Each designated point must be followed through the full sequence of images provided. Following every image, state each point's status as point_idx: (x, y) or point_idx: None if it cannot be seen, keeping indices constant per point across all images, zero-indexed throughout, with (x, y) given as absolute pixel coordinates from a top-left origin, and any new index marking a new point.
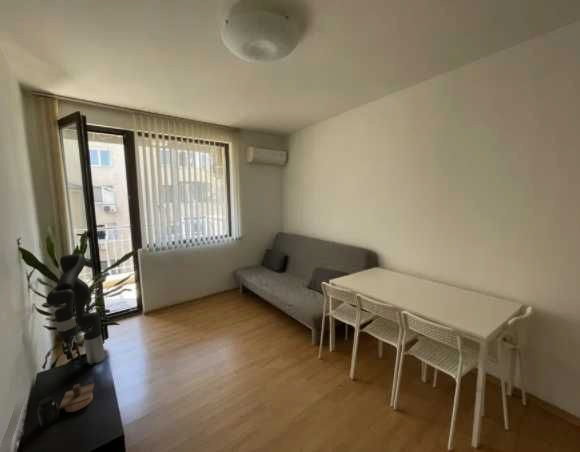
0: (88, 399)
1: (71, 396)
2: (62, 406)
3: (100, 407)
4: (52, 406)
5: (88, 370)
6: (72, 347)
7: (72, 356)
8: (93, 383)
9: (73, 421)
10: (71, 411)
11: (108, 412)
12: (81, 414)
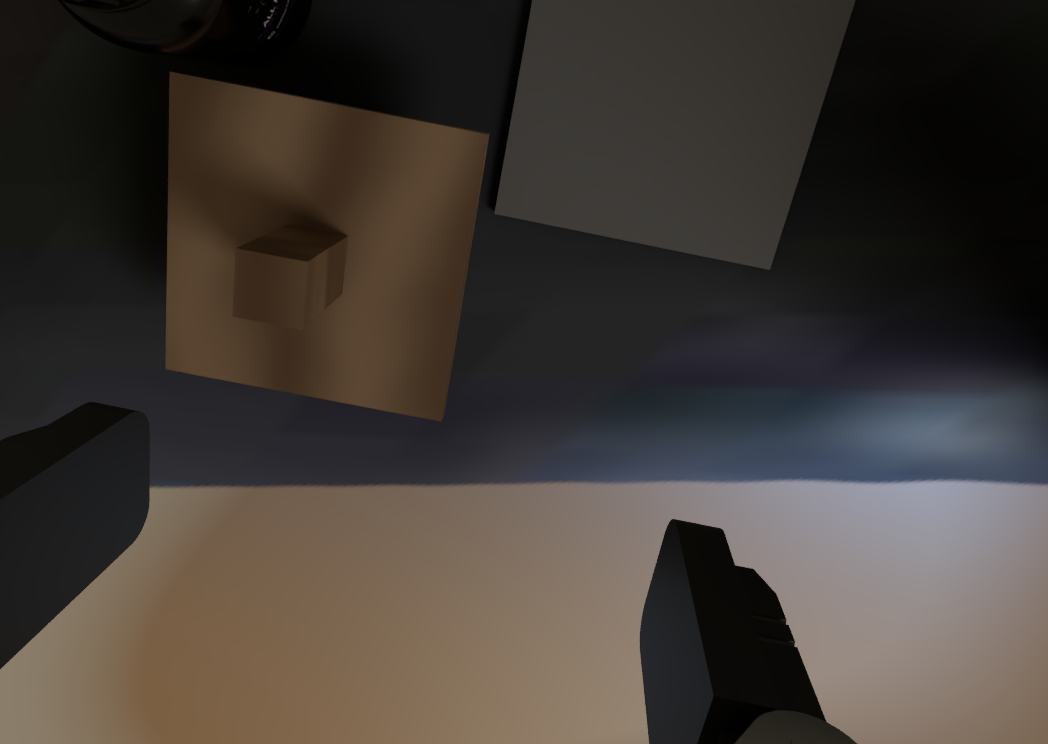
0: None
1: (325, 196)
2: (174, 109)
3: (174, 398)
4: (66, 8)
5: (1017, 319)
6: (675, 624)
7: (95, 557)
8: (432, 413)
9: (112, 190)
10: None
11: None
12: None
